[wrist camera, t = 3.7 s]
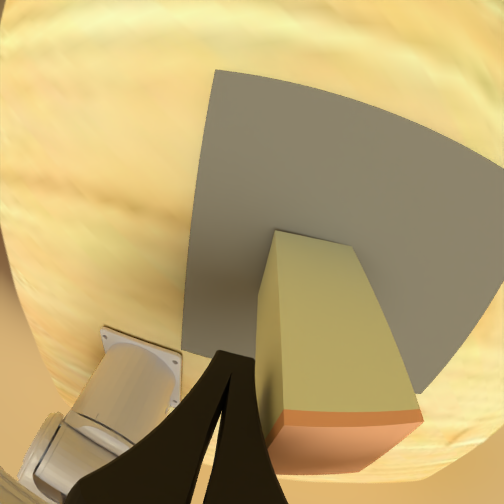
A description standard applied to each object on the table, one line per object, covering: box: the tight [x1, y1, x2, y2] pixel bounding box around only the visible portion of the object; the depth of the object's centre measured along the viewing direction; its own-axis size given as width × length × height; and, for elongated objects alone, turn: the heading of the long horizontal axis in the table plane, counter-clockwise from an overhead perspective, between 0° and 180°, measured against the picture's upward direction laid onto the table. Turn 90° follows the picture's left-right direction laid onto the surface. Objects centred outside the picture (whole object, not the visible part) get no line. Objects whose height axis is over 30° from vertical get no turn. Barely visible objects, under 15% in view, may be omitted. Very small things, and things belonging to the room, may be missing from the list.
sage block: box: [255, 230, 424, 475], centre depth 12 cm, size 4×4×11 cm
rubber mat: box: [181, 70, 504, 394], centre depth 18 cm, size 20×22×1 cm
